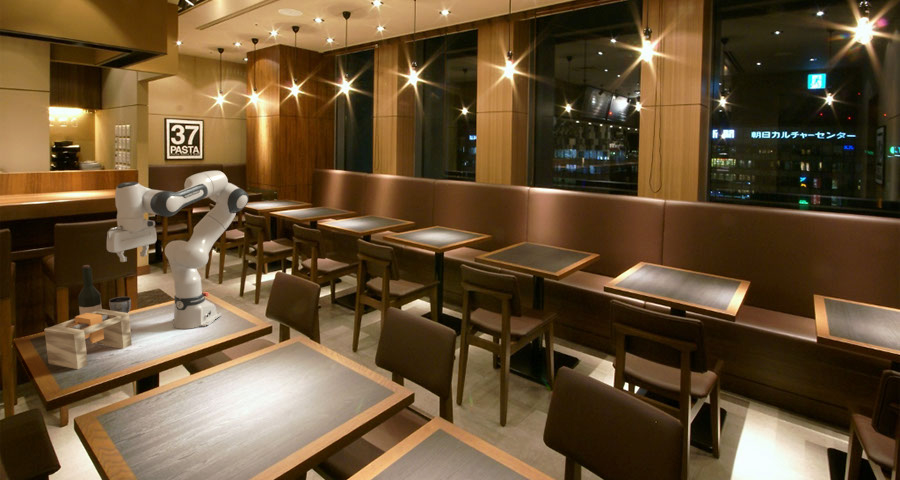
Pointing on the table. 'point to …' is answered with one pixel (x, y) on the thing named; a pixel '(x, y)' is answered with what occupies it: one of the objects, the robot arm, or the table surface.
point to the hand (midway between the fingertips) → (133, 258)
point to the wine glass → (120, 304)
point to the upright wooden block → (91, 320)
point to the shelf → (70, 342)
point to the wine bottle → (88, 293)
